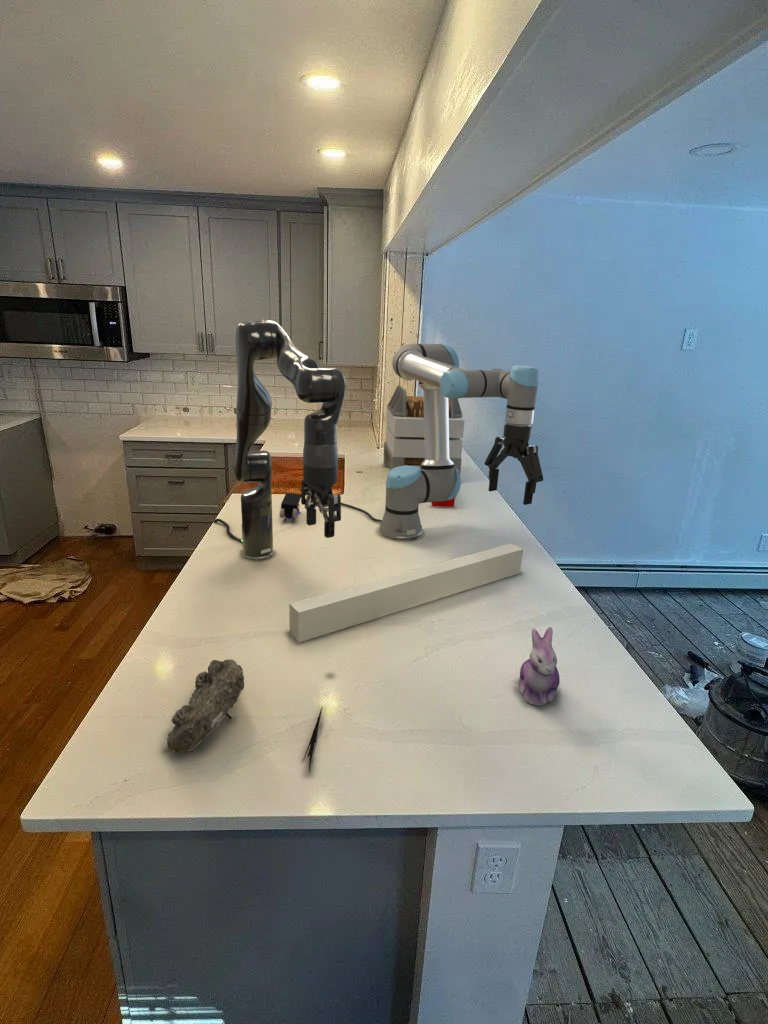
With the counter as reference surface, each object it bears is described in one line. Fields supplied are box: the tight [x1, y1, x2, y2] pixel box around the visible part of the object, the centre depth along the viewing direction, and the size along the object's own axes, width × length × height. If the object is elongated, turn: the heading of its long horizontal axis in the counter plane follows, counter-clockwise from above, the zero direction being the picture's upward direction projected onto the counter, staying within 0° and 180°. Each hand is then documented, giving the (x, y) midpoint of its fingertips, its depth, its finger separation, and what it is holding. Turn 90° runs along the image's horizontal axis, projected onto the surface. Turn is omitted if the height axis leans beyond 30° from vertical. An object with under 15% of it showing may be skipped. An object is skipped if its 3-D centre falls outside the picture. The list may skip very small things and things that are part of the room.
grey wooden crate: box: [383, 384, 465, 475], centre depth 268 cm, size 34×33×41 cm
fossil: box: [166, 658, 245, 754], centre depth 106 cm, size 22×10×15 cm
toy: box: [431, 496, 456, 508], centre depth 240 cm, size 12×13×30 cm
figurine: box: [518, 626, 561, 706], centre depth 117 cm, size 9×10×15 cm
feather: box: [301, 673, 332, 771], centre depth 108 cm, size 2×28×2 cm
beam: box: [288, 543, 524, 644], centre depth 154 cm, size 75×5×8 cm, turn 125°
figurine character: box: [279, 492, 301, 523], centre depth 209 cm, size 7×8×15 cm
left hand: (320, 530), depth 129 cm, fingers open, 8 cm apart
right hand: (509, 497), depth 163 cm, fingers open, 13 cm apart
